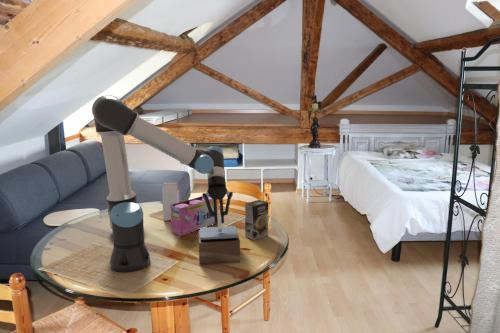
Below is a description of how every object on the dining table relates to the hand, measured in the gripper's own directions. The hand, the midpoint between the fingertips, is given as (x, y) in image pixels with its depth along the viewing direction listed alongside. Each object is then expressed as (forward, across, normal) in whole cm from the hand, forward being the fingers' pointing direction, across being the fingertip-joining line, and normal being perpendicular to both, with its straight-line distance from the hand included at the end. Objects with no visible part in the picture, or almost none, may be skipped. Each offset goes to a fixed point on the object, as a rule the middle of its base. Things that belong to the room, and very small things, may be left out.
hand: (220, 230), depth 165 cm
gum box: (-17, +10, -34) cm, 39 cm away
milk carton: (-27, +22, -45) cm, 57 cm away
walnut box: (+7, +1, -10) cm, 12 cm away
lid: (0, +1, -3) cm, 3 cm away
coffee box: (-6, -18, -24) cm, 31 cm away
